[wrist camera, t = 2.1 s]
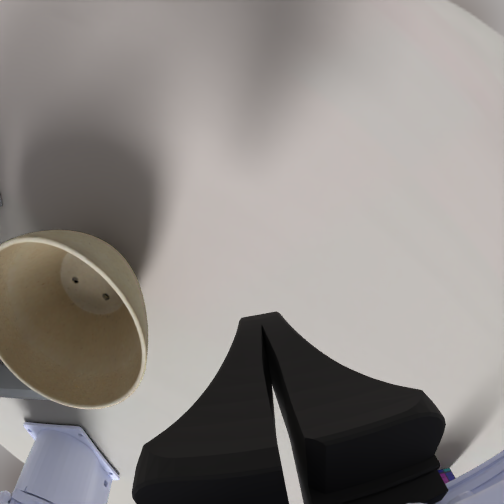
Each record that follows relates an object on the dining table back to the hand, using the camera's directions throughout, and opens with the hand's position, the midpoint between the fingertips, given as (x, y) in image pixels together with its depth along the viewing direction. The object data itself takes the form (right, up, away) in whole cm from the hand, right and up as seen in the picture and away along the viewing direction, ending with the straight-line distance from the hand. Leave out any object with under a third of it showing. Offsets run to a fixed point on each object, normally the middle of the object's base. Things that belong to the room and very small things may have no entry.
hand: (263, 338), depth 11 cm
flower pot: (-11, +1, +9) cm, 14 cm away
